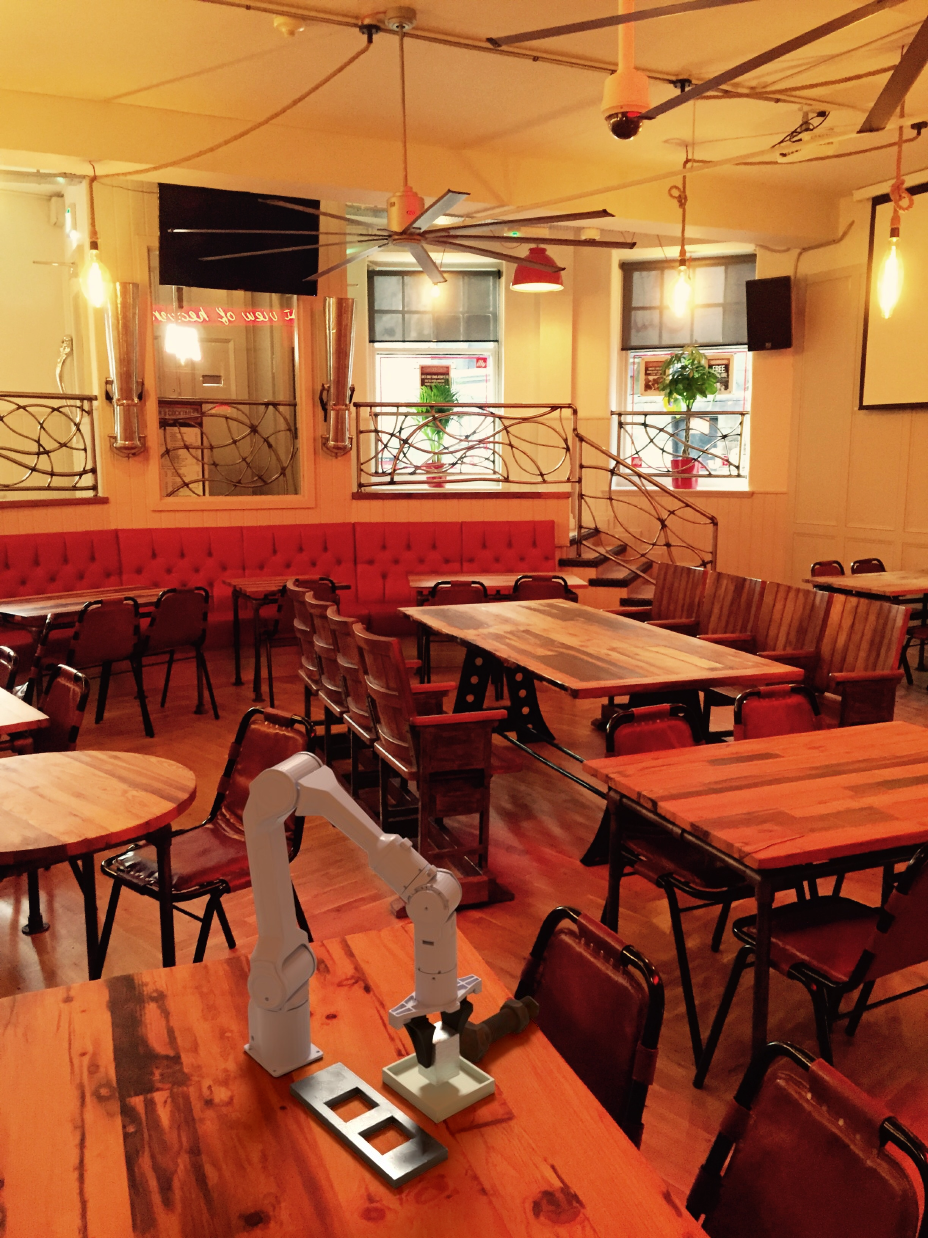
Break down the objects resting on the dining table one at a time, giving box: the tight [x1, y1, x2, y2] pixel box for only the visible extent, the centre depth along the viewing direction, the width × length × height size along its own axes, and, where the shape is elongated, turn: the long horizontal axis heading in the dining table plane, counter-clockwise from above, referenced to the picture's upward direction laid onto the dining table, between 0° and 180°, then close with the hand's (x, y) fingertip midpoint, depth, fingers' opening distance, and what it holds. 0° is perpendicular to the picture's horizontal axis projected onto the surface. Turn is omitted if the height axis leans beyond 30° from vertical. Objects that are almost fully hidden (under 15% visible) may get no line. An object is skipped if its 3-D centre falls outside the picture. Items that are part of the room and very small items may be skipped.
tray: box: [381, 1052, 496, 1124], centre depth 133 cm, size 12×10×2 cm
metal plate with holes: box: [289, 1061, 449, 1190], centre depth 125 cm, size 24×8×1 cm, turn 40°
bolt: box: [459, 995, 540, 1064], centre depth 144 cm, size 6×5×15 cm
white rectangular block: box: [418, 1020, 460, 1087], centre depth 132 cm, size 4×4×6 cm
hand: (437, 1058), depth 132 cm, fingers closed on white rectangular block, 4 cm apart
